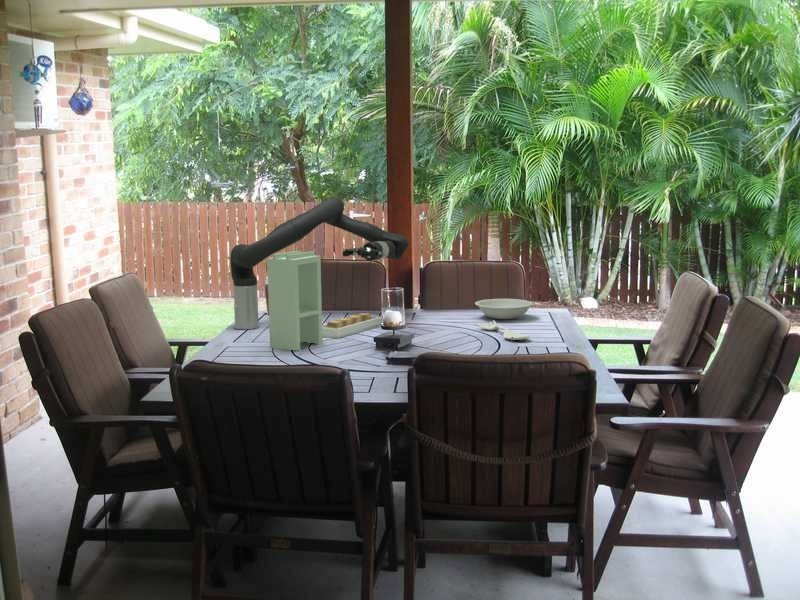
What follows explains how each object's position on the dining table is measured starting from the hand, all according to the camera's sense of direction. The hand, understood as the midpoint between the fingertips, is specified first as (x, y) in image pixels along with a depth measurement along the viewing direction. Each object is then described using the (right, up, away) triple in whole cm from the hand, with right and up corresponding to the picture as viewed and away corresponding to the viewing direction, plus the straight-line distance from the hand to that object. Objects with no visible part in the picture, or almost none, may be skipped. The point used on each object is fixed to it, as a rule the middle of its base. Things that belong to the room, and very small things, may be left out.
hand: (352, 254), depth 350 cm
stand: (-19, -34, -26) cm, 47 cm away
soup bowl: (+62, -26, +25) cm, 71 cm away
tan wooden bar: (-1, -29, +3) cm, 29 cm away
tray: (-1, -30, +2) cm, 30 cm away
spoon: (+57, -31, -10) cm, 66 cm away
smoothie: (-36, -24, +43) cm, 61 cm away
